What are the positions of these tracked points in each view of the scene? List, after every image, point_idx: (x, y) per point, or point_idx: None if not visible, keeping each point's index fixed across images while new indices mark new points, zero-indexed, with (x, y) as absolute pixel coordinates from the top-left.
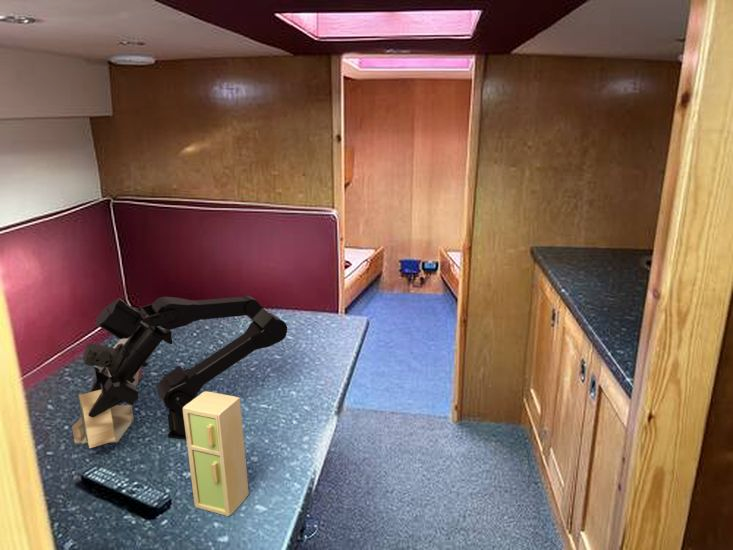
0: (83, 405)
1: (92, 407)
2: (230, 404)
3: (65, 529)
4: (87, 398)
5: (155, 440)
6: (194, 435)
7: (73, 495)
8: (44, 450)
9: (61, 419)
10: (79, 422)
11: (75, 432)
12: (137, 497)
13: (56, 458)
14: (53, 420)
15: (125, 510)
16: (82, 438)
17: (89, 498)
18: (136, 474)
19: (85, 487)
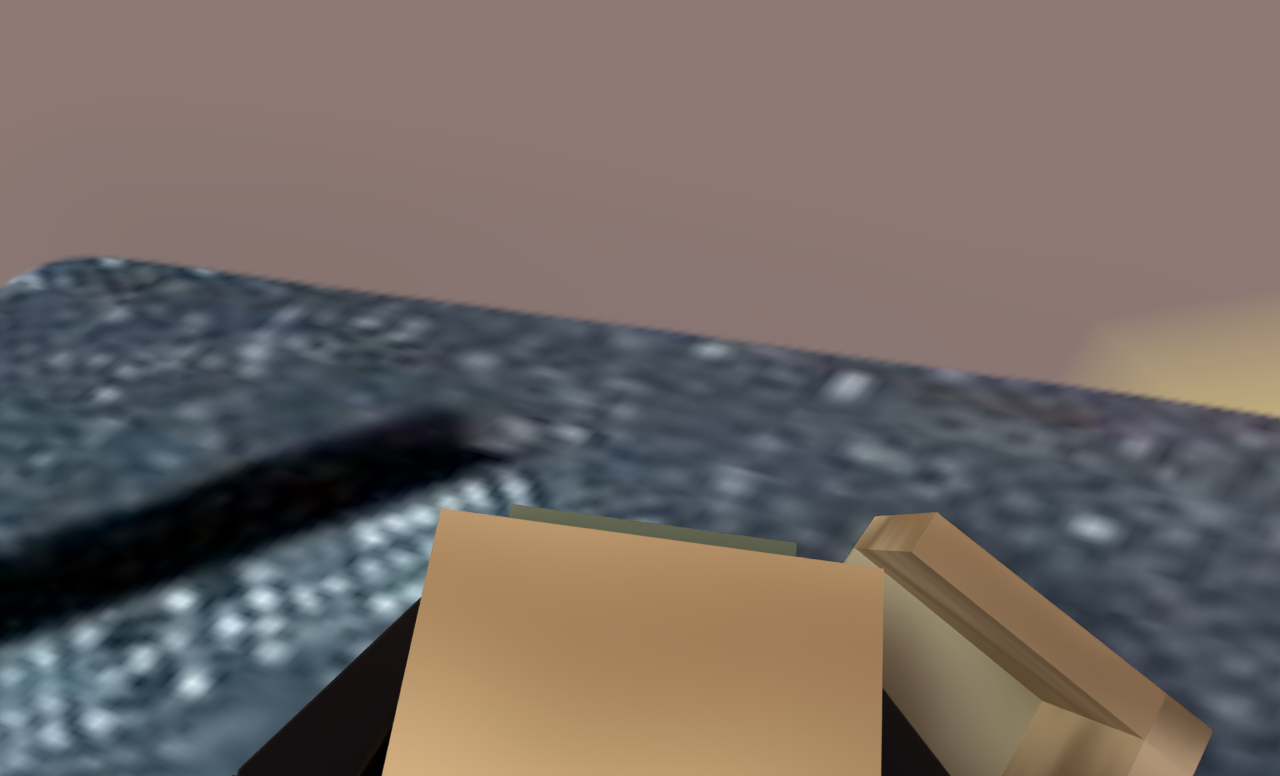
0: (439, 529)
1: (406, 656)
2: None
3: (130, 284)
4: (633, 663)
5: None
6: None
7: (362, 377)
8: (891, 369)
9: (1206, 526)
10: (978, 574)
11: (903, 527)
12: (50, 641)
13: (770, 397)
14: (1214, 485)
15: (3, 546)
16: (876, 561)
17: (271, 430)
18: (272, 718)
19: (383, 441)
